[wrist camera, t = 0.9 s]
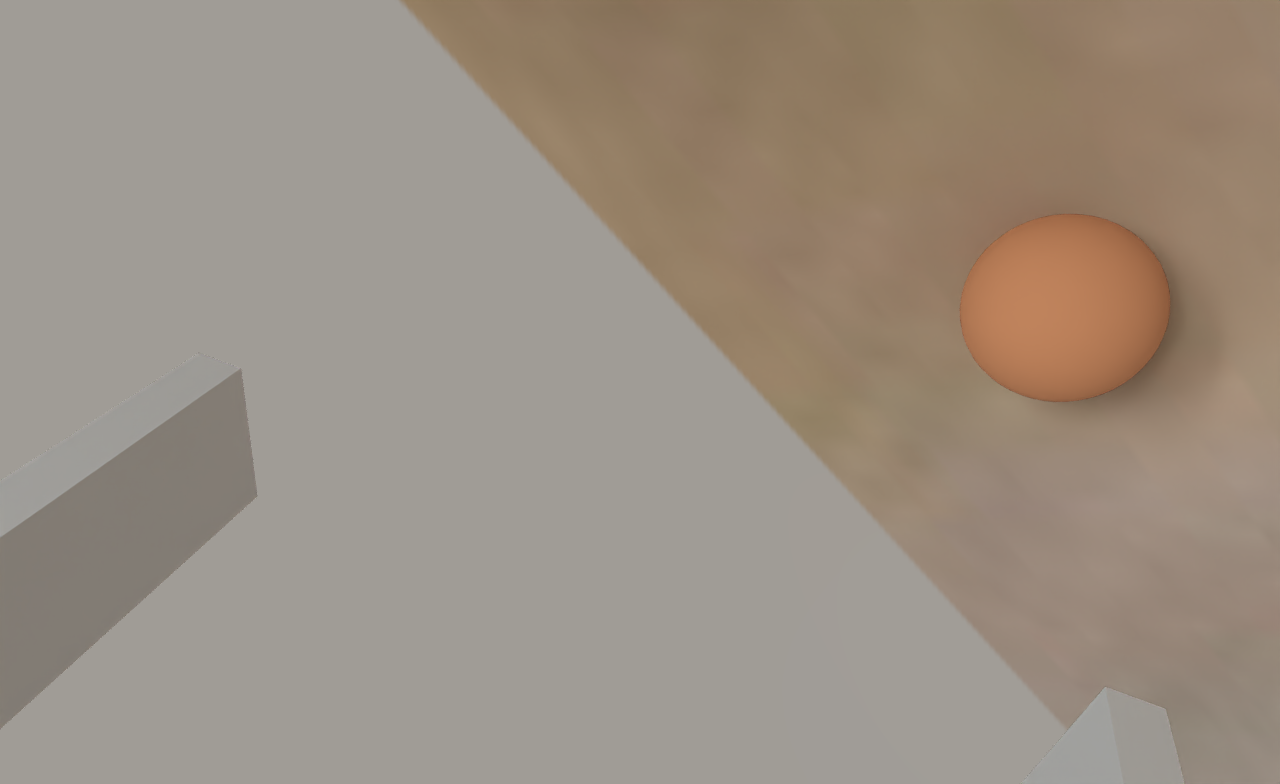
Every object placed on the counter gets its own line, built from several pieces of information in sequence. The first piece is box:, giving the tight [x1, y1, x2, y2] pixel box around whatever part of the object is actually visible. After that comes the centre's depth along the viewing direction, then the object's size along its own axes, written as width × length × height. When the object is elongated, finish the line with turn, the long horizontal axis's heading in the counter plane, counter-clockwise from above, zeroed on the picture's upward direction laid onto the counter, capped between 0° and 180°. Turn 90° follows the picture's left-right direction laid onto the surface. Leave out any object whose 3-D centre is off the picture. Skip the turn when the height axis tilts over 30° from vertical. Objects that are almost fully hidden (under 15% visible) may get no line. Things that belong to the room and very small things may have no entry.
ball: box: [960, 214, 1170, 402], centre depth 24 cm, size 6×6×6 cm
